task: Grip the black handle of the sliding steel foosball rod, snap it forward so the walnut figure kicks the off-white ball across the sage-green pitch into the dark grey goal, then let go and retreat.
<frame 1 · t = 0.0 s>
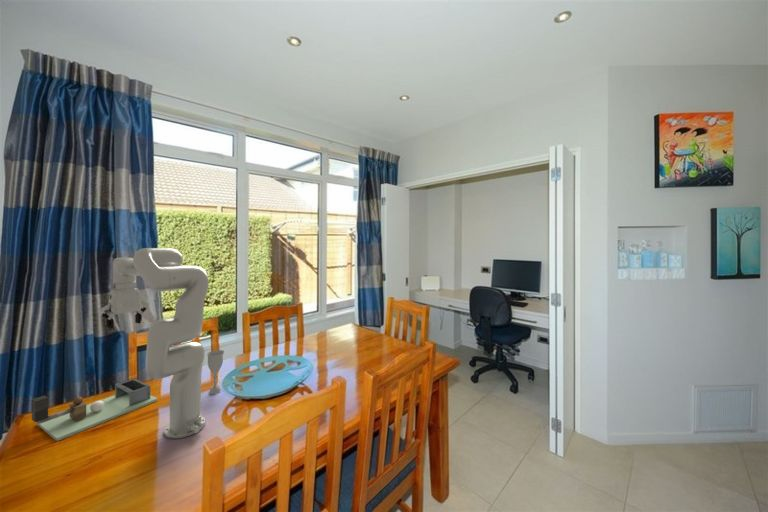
hand: (124, 325, 128), 31 cm above the table, fingers open, 9 cm apart
pitch: (102, 411, 117), on the table
ball: (97, 406, 115), point 3 cm above the table, touching pitch
striker: (59, 408, 106), point 7 cm above the table, slide at 0.0 cm
goal: (132, 400, 126), resting on pitch
chalice: (214, 391, 136), on the table
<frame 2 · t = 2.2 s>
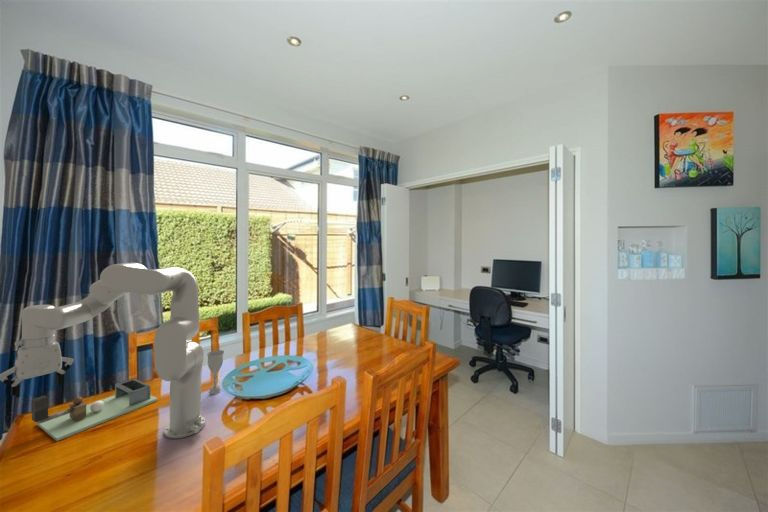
hand: (38, 390, 101), 16 cm above the table, fingers open, 9 cm apart
nothing on the table moved.
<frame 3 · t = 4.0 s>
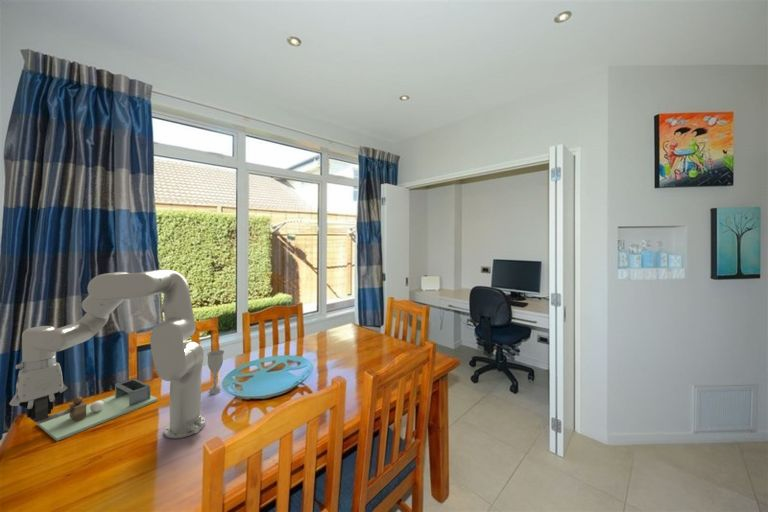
hand: (40, 414, 102), 7 cm above the table, fingers closed on striker, 3 cm apart
striker: (59, 408, 106), point 7 cm above the table, slide at 0.0 cm, touching gripper
everything else where it was.
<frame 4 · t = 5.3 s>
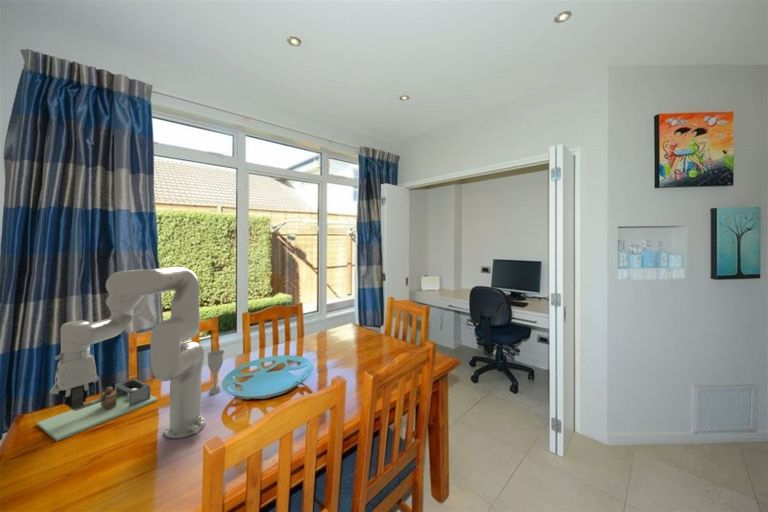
hand: (76, 402, 110), 7 cm above the table, fingers closed on striker, 3 cm apart
ball: (133, 393, 126), point 3 cm above the table, tilted 46°, touching pitch
striker: (92, 397, 114), point 7 cm above the table, slide at 9.0 cm, touching gripper
everything else where it was.
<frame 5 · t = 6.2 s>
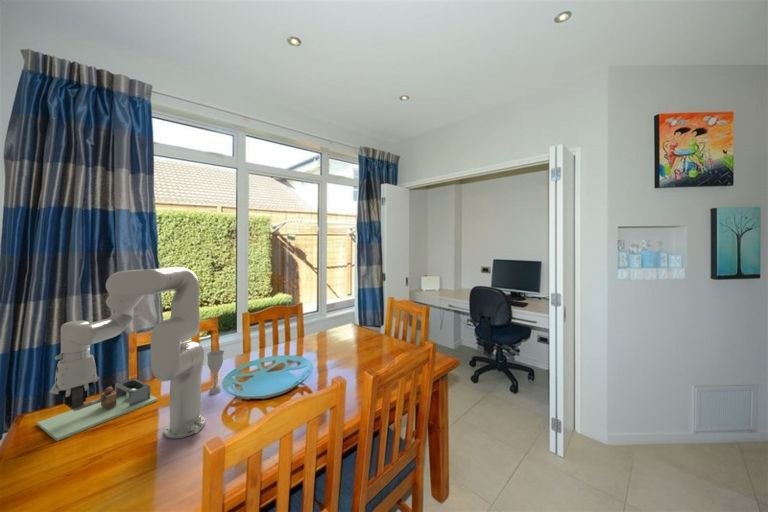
hand: (76, 402, 110), 7 cm above the table, fingers closed on striker, 3 cm apart
ball: (132, 393, 126), point 3 cm above the table, tilted 61°, touching pitch
striker: (92, 397, 114), point 7 cm above the table, slide at 9.0 cm, touching gripper
everything else where it was.
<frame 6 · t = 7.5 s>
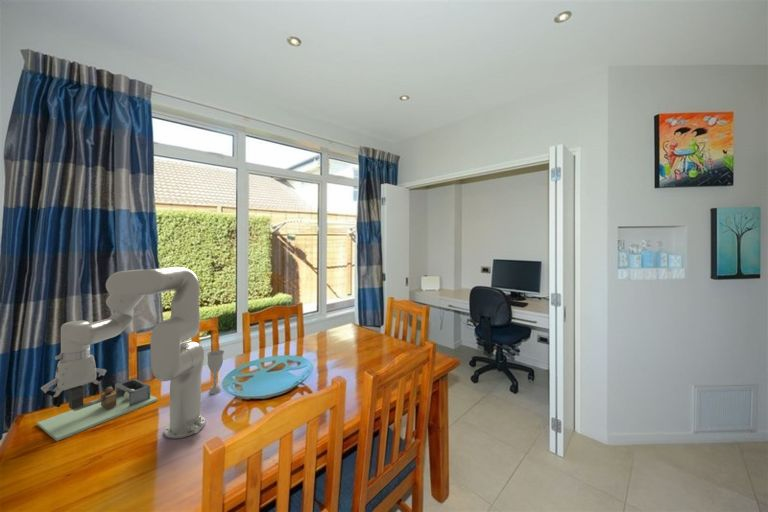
hand: (76, 399, 110), 8 cm above the table, fingers open, 9 cm apart
ball: (130, 394, 125), point 3 cm above the table, tilted 81°, touching pitch
striker: (92, 397, 114), point 7 cm above the table, slide at 9.0 cm
everything else where it was.
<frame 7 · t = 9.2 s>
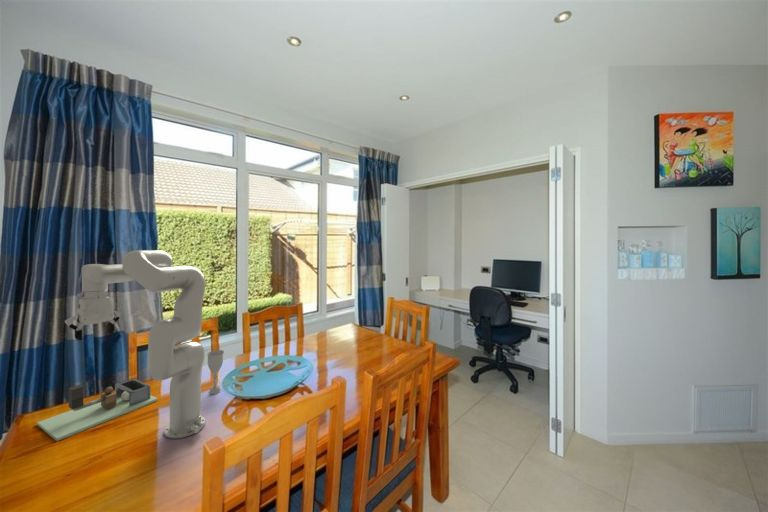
hand: (95, 336, 120), 29 cm above the table, fingers open, 9 cm apart
ball: (127, 395, 124), point 3 cm above the table, tilted 109°, touching pitch
everything else where it was.
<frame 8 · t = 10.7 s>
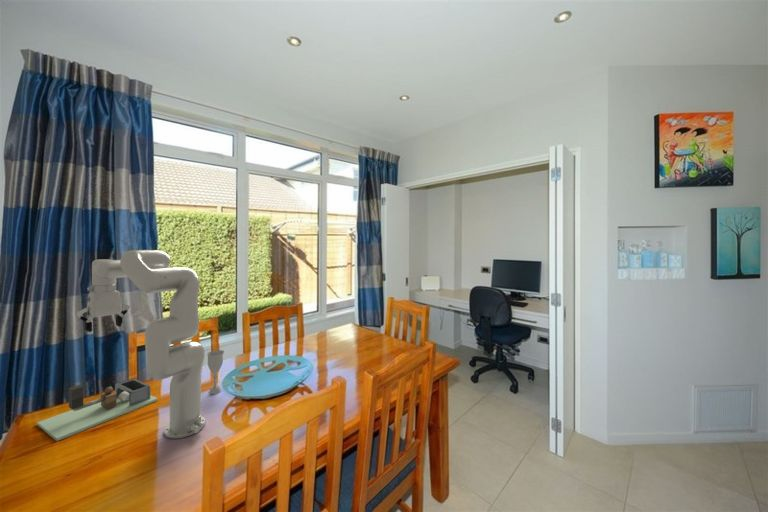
hand: (104, 328, 126), 30 cm above the table, fingers open, 9 cm apart
ball: (125, 396, 123), point 3 cm above the table, tilted 133°, touching pitch
everything else where it was.
at the end: ball inside the target area on the goal (2.5 cm from its centre), point 3.0 cm above the goal's base; striker slide at 9.0 cm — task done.
